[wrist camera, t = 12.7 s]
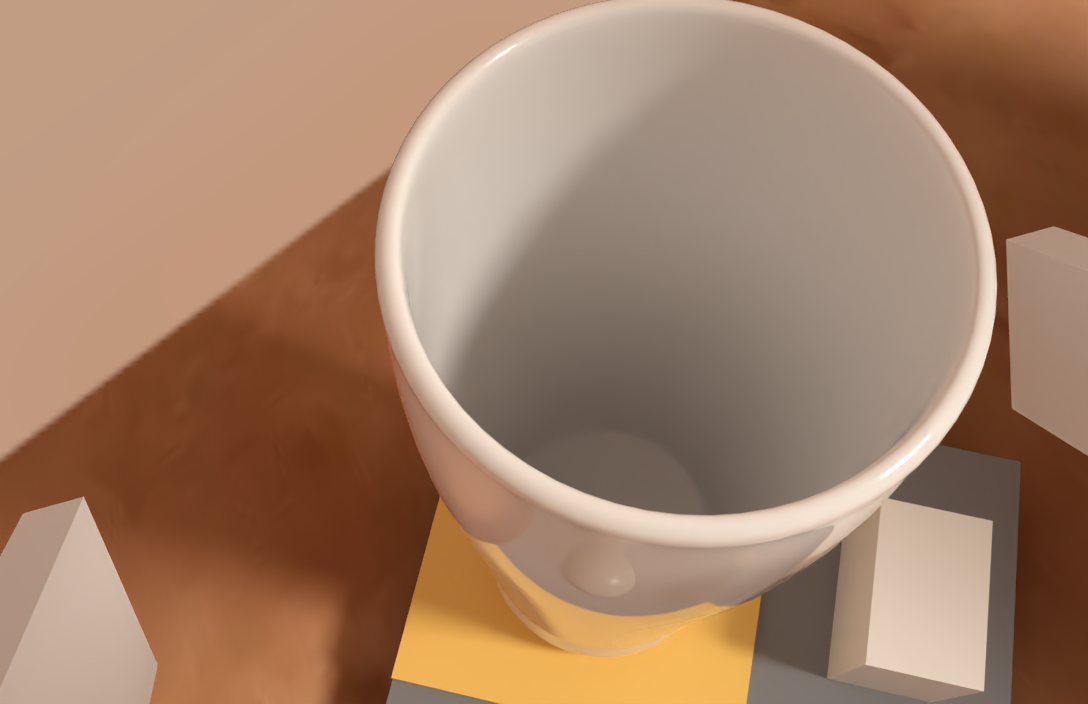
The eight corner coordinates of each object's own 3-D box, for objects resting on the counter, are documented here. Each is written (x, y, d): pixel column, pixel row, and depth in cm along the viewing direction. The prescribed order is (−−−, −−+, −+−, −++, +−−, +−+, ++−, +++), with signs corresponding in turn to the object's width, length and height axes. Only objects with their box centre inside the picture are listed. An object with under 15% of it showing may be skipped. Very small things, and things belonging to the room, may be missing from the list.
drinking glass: (436, 442, 26) (322, 33, 12) (698, 389, 26) (882, -59, 12) (489, 724, 23) (423, 622, 9) (778, 657, 24) (1121, 469, 10)
